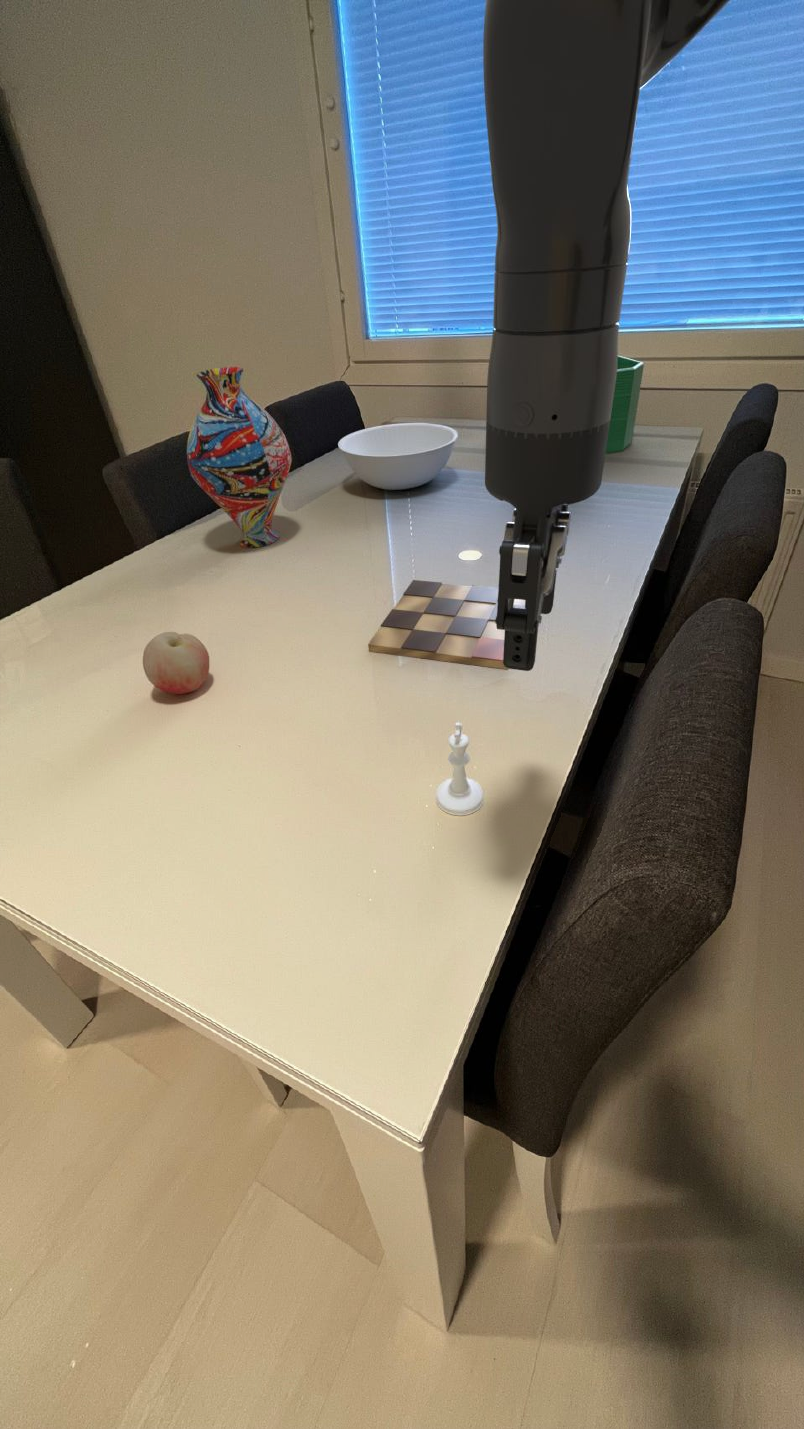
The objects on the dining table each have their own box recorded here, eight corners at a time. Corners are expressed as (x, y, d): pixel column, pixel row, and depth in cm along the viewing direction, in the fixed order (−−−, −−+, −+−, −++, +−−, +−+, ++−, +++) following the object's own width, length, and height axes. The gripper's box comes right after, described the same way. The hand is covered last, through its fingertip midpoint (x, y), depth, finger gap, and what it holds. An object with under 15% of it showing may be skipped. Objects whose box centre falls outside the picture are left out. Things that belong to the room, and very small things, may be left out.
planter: (642, 448, 150) (656, 365, 138) (543, 463, 147) (549, 379, 135) (594, 424, 170) (603, 350, 158) (506, 437, 167) (509, 362, 155)
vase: (270, 515, 132) (237, 358, 114) (323, 534, 121) (296, 364, 103) (194, 543, 123) (144, 377, 104) (244, 567, 111) (198, 386, 93)
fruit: (200, 706, 78) (182, 654, 73) (145, 703, 80) (123, 652, 75) (224, 671, 85) (209, 621, 80) (172, 669, 86) (154, 620, 81)
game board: (534, 599, 94) (535, 590, 93) (507, 669, 80) (508, 661, 79) (413, 587, 100) (413, 579, 99) (368, 651, 86) (367, 643, 85)
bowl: (321, 496, 140) (314, 451, 133) (381, 461, 157) (377, 420, 151) (425, 509, 128) (422, 460, 122) (477, 470, 146) (477, 426, 140)
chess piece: (486, 784, 64) (488, 710, 57) (479, 818, 60) (480, 744, 54) (441, 778, 65) (437, 705, 59) (431, 812, 61) (426, 738, 55)
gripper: (599, 447, 31) (565, 698, 41) (620, 387, 41) (588, 600, 51) (458, 442, 33) (458, 681, 43) (510, 387, 43) (501, 590, 53)
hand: (529, 637), depth 47 cm, fingers open, 8 cm apart
